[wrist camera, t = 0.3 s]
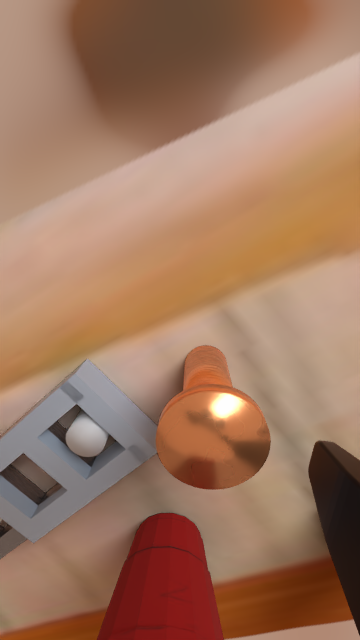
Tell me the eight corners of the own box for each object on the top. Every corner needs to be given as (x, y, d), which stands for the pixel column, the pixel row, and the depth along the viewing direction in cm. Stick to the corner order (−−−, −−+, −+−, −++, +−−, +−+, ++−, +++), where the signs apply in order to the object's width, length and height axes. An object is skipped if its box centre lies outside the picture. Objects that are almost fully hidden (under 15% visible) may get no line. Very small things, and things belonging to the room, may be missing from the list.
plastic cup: (244, 571, 27) (281, 818, 16) (132, 587, 29) (91, 827, 17) (216, 476, 24) (237, 694, 13) (93, 499, 26) (12, 716, 14)
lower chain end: (110, 469, 25) (106, 480, 24) (6, 546, 28) (-2, 560, 27) (36, 403, 23) (28, 412, 22) (-64, 493, 26) (-76, 505, 25)
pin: (256, 368, 22) (294, 450, 14) (201, 409, 23) (206, 506, 15) (209, 315, 21) (220, 370, 13) (155, 361, 22) (132, 437, 14)
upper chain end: (161, 430, 23) (158, 451, 21) (47, 516, 26) (33, 543, 24) (87, 358, 22) (75, 373, 20) (-25, 458, 25) (-47, 481, 23)
